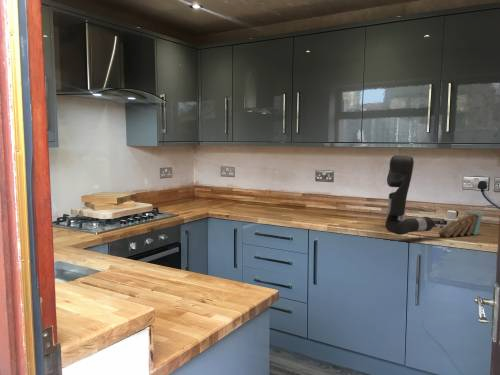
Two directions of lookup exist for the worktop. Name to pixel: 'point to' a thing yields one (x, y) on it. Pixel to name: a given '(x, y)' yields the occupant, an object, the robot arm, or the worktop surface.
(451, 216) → the medicine bottle
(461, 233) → the domino
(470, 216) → the domino
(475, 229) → the domino
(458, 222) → the domino
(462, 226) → the domino
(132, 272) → the worktop surface
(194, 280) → the worktop surface
